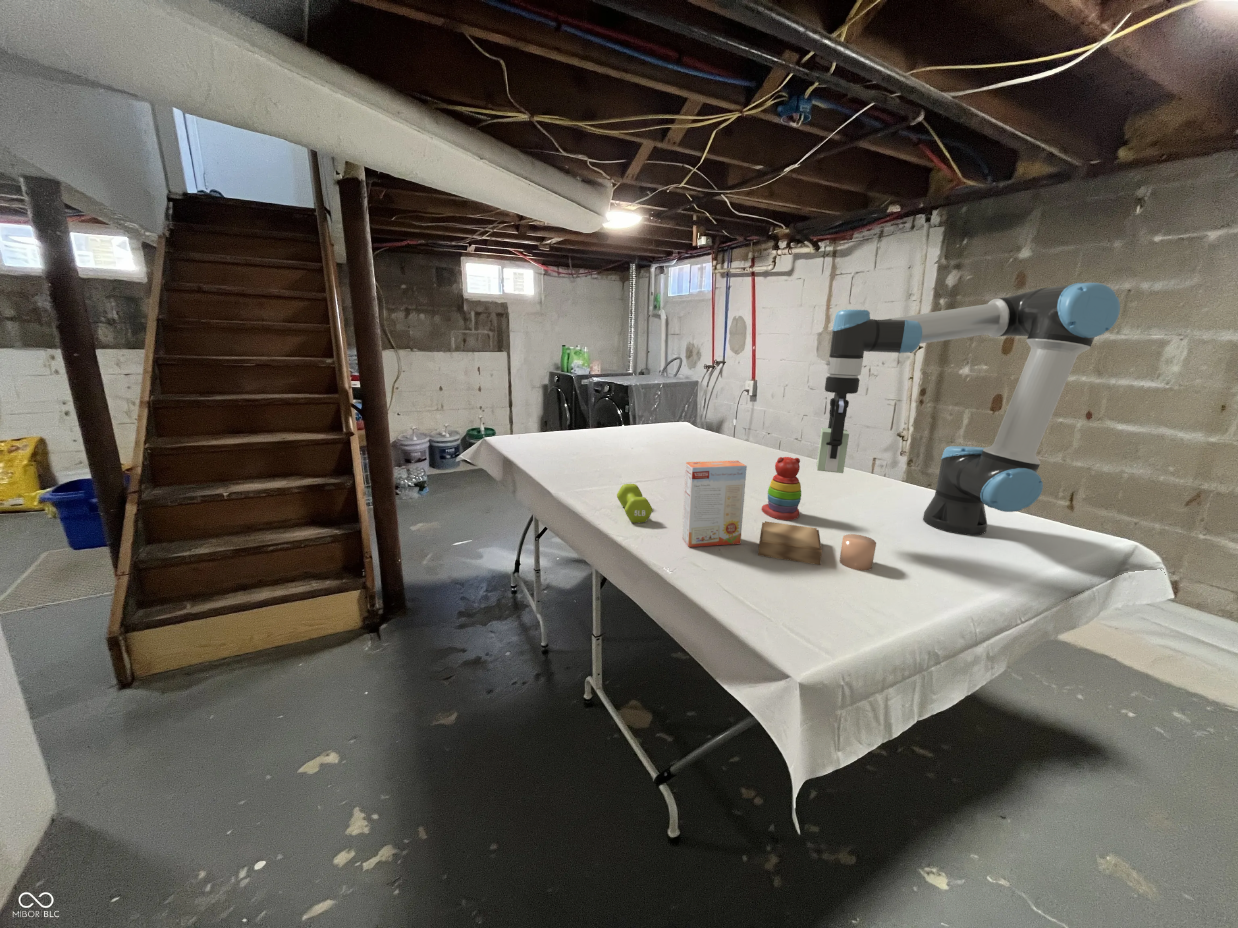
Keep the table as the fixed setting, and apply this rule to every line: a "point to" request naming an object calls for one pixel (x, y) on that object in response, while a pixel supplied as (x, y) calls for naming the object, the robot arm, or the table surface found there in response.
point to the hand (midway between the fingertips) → (829, 467)
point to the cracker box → (713, 503)
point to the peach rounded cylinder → (857, 552)
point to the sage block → (824, 448)
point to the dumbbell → (634, 503)
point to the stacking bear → (784, 490)
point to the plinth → (790, 542)
